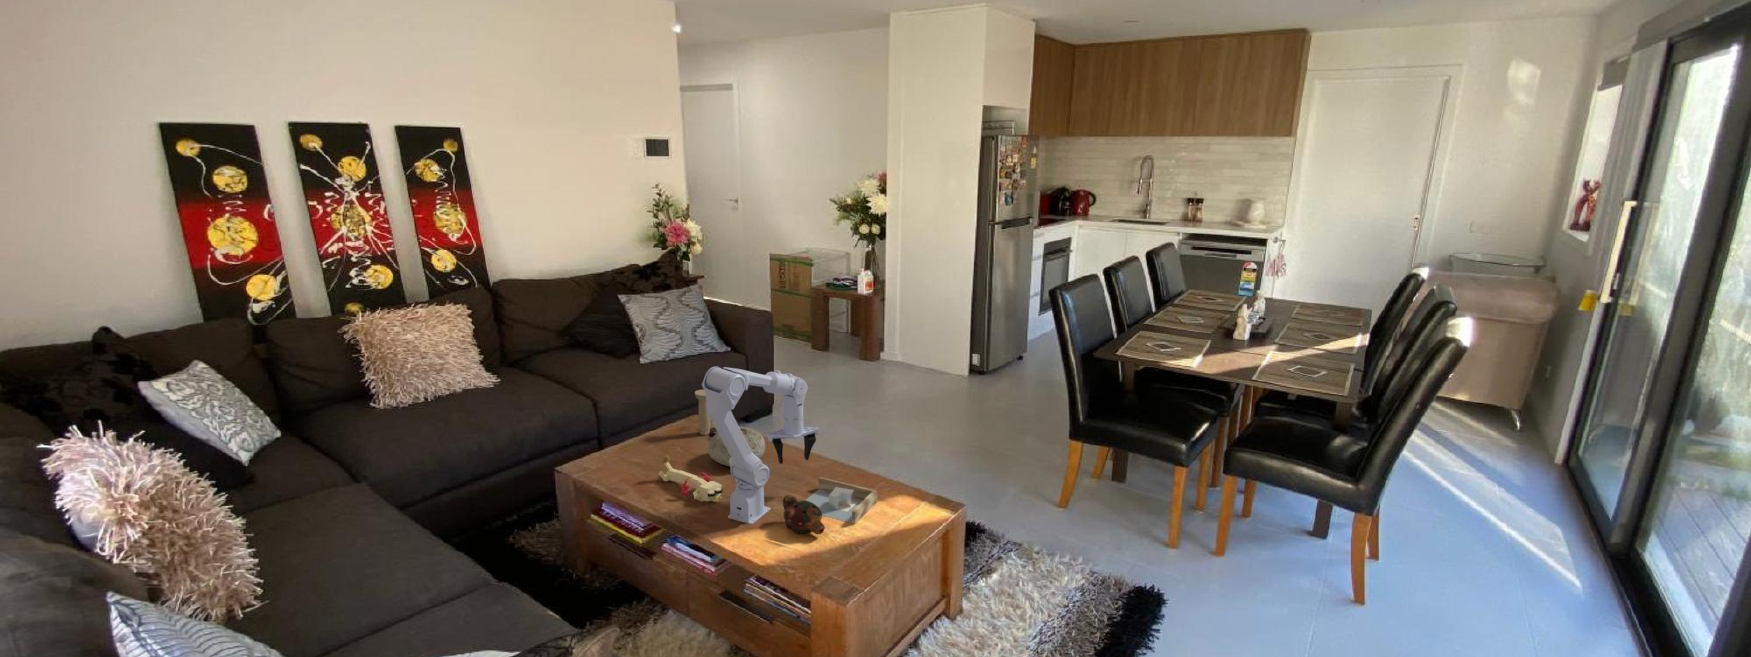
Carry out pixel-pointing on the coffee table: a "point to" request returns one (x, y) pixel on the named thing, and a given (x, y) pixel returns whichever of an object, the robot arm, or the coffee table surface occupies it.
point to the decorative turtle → (802, 515)
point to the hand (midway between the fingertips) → (793, 460)
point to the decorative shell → (721, 452)
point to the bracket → (841, 498)
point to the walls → (859, 493)
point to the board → (842, 513)
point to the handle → (703, 413)
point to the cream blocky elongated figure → (692, 483)
